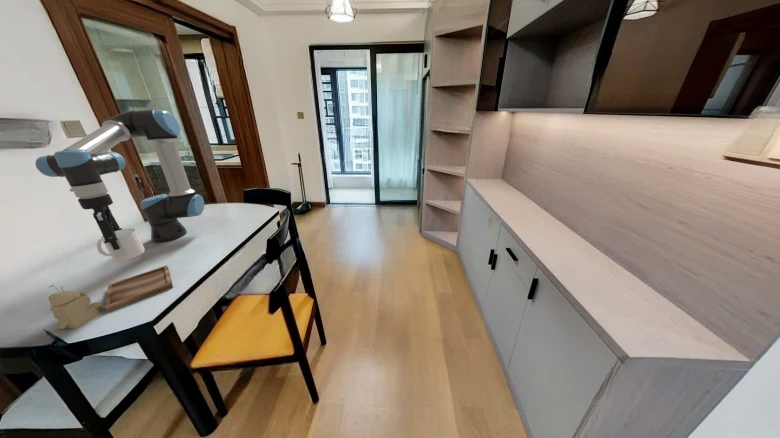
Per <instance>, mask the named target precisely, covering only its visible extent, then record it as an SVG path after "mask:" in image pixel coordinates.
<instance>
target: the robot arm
mask: <svg viewBox="0 0 780 438" xmlns="http://www.w3.org/2000/svg"><path fill="white" fill-rule="evenodd" d="M180 133H181V126H180V123H179V122H178V120H177V118H176V117H175V116H174V115H173V114H172V113H171V112H169V111H167V110H164V109H147V110H146V109H145V110H128V111H123V112H121V113H118V114H116V115H114V116H112V117H110V118H108V119H106V120H104V121H103V122H102V123H101V126H100V127H99V128H97V129H96V130H94V131H92V132H90V134H87V135H86V136H84V137H83V138H81V139H79V140H78V141H76V142H74V143H73V144H71V145H70V146H68V147H66V148H64V149H62V150H59V151H55V152H54V153H53V155H51V154H49V155H48V154H47V155H42V156H39V157H37V158H36V160H35V163H34V164H35V168H36V169H37V170H38V171H39V173H40V174H43V175H44V176H45V177H50V178H59V177H60V178H64V177H65V179H66V181H67V182H68V184H69V186H70V188H69V192H71V193H72V192H74V195H75V197H76V198H78V199H77V201H78V203H79V205H80V207H81V209H83V210H93V213H92V217H93V219H94V220H95V221H96V223H97V226H98V227H99V230H100V232H101V234H102V237H104V239H105V241H104V242H103V244H104V243H108V244H109V245H110V247H111V249H112V251H113V253H114V255H115V257H116V258H119V257H122V256H126V255H127V254H126V252H125V250H124V249H123V247H122V245H121V243H120V241H119V239H118V238H117V237H116V234H115V232H114V231H118V230H122V229H123V228H122V227H120V226H119V223H118V222H117V220H116V218H115V216H114V215H113V213H112V211H111V209H110V207H109V206H111V205H113V203H114V202H113V200H112V197H111V195H110V194H109V193H108V192H109V191H108V189H107V187H106V184H105V183H104V181H103V179H102V178H101V176H102V175H106V174H107V175H109V174H113V173H117V172H119V171H123V170H124V169H125V168H126V166H127V165H126V163H127V162H126V159H125V158H124V157H123V156H122V155H121V153H118V152H115V151H110V150H111V149H113V148H114V147H115V146H116V145H118V144H119V143H121V142H126V141H128V140H130V139H132V138H139V137H145V138H146V140H147V142H149V143H151V144H152V145H153V147H154V150H155V153H156V155H157V158H158V161H159V163H160V167H161V169H162V171H163V175H164V177H165V180H166V183H167V186H168V188H169V193H168V194H167V193H162V194H158V195H153V196H150V197H147V198H145V199H143V200H141V201H140V202H139V203H140V207H141V210H142V212H143V213H144V215H145V218H146V220H147V222H148V223H149V226H150V238H151V240H152V242H154V243H165V242H170V241H173V240H176V239H178V238H181V237H183V236H185V235H186V234H187V232H188V231H187V228H186V227H185V226H184V225H183V224H182V223H181V222H180V220H178V219H181V218H192V217H198V216H200V215H202V214H203V213H204V209H205V200H204V198H203V195H200V194H198V193H197V192H196V190H195V189H193V188H191V185H190V182H189V178H188V176H187V173H186V171H185V167H184V165H183V160H182V158H181V156H180V152H179V149H178V146H177V143H176V142H177V141H178V139H179V137H178V135H180Z"/></svg>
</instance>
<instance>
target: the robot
mask: <svg viewBox="0 0 780 438" xmlns="http://www.w3.org/2000/svg"><path fill="white" fill-rule="evenodd" d="M52 287H54V288H55V289H57V287H56V286H55V285H54V284H51V285H50V286H48V287H47V288H52ZM59 289H60V290H58V293H56V292H55V293H52V294H50V295H48V298H47V299H48V301H50V305H51V307H50V311H51V312H52V313H53V315H52V316H53V318H55V319H56V320H57V321H58V322H59V325H58V326H56V329H55V330H54V332H56V330H57V331H58V329H59V330H61V329H62V330H64V331H66V330H67V328H68V329H69V328H71V329H78V328H79V327H81V326H82V325H84V324H86V323H88V321H90V320H92V319H93V318H95V317H97V316H98V315H100V312H101V309H102V305H103V303H101V302H93V303H92V301H91V298H90V297H89V296H88V294H87V293H86V291H85V290H82V291H81V292H80V295H78V293H76V292H75V291H73V290H63V287H62V286H61V287H59Z"/></svg>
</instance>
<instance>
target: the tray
mask: <svg viewBox="0 0 780 438" xmlns="http://www.w3.org/2000/svg"><path fill="white" fill-rule="evenodd" d="M172 288H174V286H173V281H172V277H171V274H170V269H169V267H168V265H163V266H160V267H156V268H153V269H151V270H148V271H145V272H142V273H138V274H136V275H133V276H130V277H127V278H123V279H121V280H117V281H114V282H112V283H108V284H107V290H106V297H105V303H104V309H105V310H106V312H107V313H109V312H112V311H114V310H117V309H119V308H122V307H125V306H127V305H130V304H133V303H136V302H138V301H140V300H144V299H146V298H149V297H151V296H155V295H157V294H159V293H162V292H164V291H167V290H170V289H172Z"/></svg>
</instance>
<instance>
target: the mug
mask: <svg viewBox="0 0 780 438" xmlns="http://www.w3.org/2000/svg"><path fill="white" fill-rule="evenodd" d="M114 232H115V234H116V237H117V238H118V239H119V241H120V243H121V245H122V247H123V249H124V250H125V252H126V254H127V255H126V256H122V257H119V258H116V257H115V255H114V253H113V251H112V249H111V247H110V245H109V244H108V243H104V241H105V239H104V237H103V236H101V238H100V239H99V240H98V241H97V243H96V249H97V251H98V253H99V254H100V255H103V256H105V257H111V258H112V260H113V261H115V262H124V261H127V260H133V259H134V258H138V256H141V255H143V254H144V253H145V251H146V250H145V247H144V245H143V243H142V240H141V239H140V237H139V235H138V233H137V231H136V229H135V228H122V230H118V231H114ZM102 242H103V244H104V245H105V248H106V249H107V252H106V251H104V249H103V248H102Z"/></svg>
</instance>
